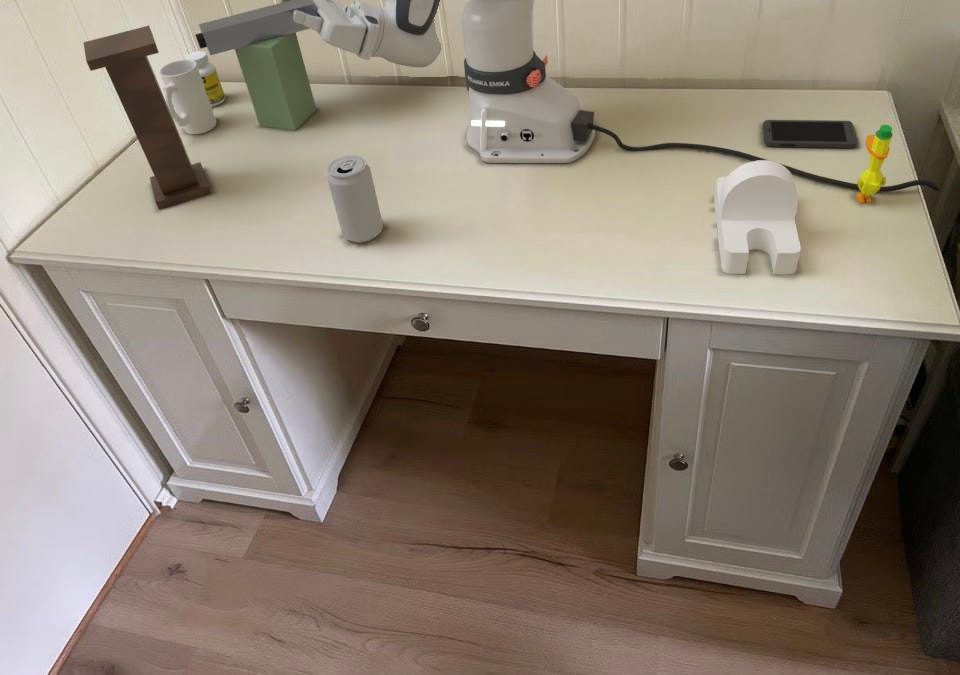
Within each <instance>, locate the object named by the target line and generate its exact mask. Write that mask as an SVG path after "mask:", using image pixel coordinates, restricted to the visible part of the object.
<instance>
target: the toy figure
mask: <svg viewBox="0 0 960 675" xmlns="http://www.w3.org/2000/svg"><path fill="white" fill-rule="evenodd" d="M892 131H893V127H892V126H891V125H889V124H882V125H880V126H879V129H877V130H876V131H875V134H867V135H866V138H865V147H866V149H867V151H868V153H869V154H870V155H869V163H868V168H866V169H865V170H864V171H862V172H861V174H860V177H859V178H858V179H857V181H856V184H858V187H859V189H860V190H859V191H860V192H856V197H855V199H856V200H857V201H858V202H859V203H860V204H865V202H866V203H867V204H871V203H872V195H874V194H875V193H878V192H877V191H878V190H880V187H881V186H886V182H887V178H886V176H884V174H883V173H882V171H881V168H882V165H883V164H884V162H885V159H887V158H888V156H889V153H890V149H891V148H890V144H891V140H892V138H893V132H892Z"/></svg>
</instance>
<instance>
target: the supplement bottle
mask: <svg viewBox="0 0 960 675" xmlns="http://www.w3.org/2000/svg"><path fill="white" fill-rule="evenodd" d="M185 59H189V60H193V61H195V62H196V64H197V67H198V70H199V73H200V75H201V78H202V81H203V84H204V87H205V90H206V93H207V96H208V99H209V102H210V104H211V107H212V108H213V107H217V106H220V105H221V104H222V103H224V102H225V100H226V96H225V92H224V89H223V86H222V83H221V80H220V78H219V75H218V71H217V69H216V66H215V64H214V63H213V62H211V61H209V56H208V54H207V52H206V51H203V50H197V51H193V52H190V53H189V54H187V55H186V56H185Z"/></svg>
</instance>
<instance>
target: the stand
mask: <svg viewBox="0 0 960 675" xmlns="http://www.w3.org/2000/svg"><path fill="white" fill-rule="evenodd" d="M82 44H83V48H84V56H85V62H86V64H87V65H88V69H89V71H91V72H92V71H97V70H99V69H104V68H105V70H106V72H107V74H108V76H109V79H110V81H111V83H112V86H113V88H114V90H115V92H116V94H117V97H118V98H119V101H120V103H121V105H122V108H123V110H124V112H125V115H126V117H127V118H128V121H129V123H130V125H131V127H132V129H133V132H134V134H135V136H136V138H137V140H138V143H139V145H140V147H141V149H142V151H143V154H144V156H145V158H146V161H147V163H148V165H149V167H150V169H151V172H152V174H153V176H150V177H149V181H150V186H151V190H152V193H153V198H154V202H155V204H156V207H157V208H158V210H162V209H165V208H168V207H172V206H175V205H179V204H181V203H185V202H187V201H191V200H195V199H198V198H200V197H204V196H207V195H210V194H212V190H211V188H210V185H209V182H208V179H207V176H206V173H205V170H204V167H203V165H202V163H201V161H199V162H196V163H193V164H192V161H191V160H190V156H189V154H188V153H187V149H186V148H185V145H184V142H183V140H182V138H181V134H180V133H179V130H178V127H177V125H176V122H175V120H174V119H173V118H172V115H171V113H170V111H169V108H168V106H167V103H166V100H165V95H164V93H163V92H162V89H161V87H160V84H159V81H158V80H157V76H156V75H155V74H156V73H155V72H154V69H153V67H152V65H151V62H150V60H149V57H148V56H152V55H156V54H159V52H160V51H159V49H158V46H157V42H156V39H155V37H154V34H153V32H152V29H151V27H150V25H145V26H141V27H137V28H134V29H130V30H126V31H121V32H117V33H115V34H110V35H106V36H103V37H98V38H95V39H91V40H86V41H84V42H83V43H82Z"/></svg>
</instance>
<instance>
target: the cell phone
mask: <svg viewBox="0 0 960 675" xmlns="http://www.w3.org/2000/svg"><path fill="white" fill-rule="evenodd" d="M762 133H763V144H764V145H765V146H767V147H771V148H772V147H778V148H779V147H781V148H837V149H839V148H840V149H854V148H856V146H857V144H858V141H857V140H858V139H857V135H856V131H855V126H854V124H853V122H852V121H850V120H823V119H822V120H821V119H817V120H816V119H815V120H814V119H809V120H808V119H766V120H763V122H762Z"/></svg>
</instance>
